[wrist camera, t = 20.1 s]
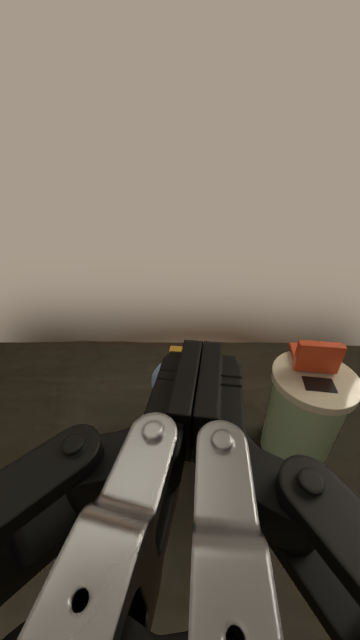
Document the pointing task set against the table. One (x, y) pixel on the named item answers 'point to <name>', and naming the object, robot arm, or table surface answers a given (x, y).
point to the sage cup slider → (317, 356)
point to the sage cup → (307, 409)
